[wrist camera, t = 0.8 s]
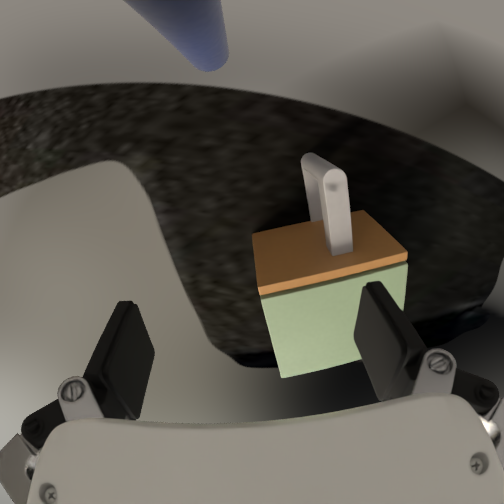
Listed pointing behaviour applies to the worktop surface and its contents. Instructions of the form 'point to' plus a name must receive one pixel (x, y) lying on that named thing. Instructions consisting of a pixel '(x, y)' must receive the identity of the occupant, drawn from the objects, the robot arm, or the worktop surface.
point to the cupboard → (323, 319)
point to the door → (322, 237)
